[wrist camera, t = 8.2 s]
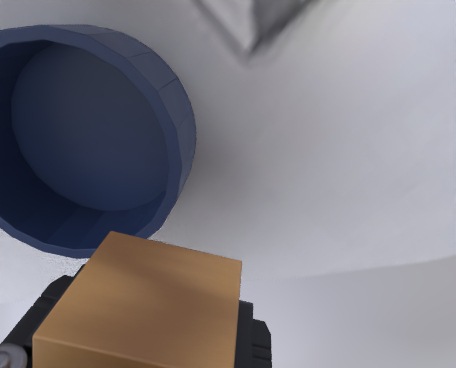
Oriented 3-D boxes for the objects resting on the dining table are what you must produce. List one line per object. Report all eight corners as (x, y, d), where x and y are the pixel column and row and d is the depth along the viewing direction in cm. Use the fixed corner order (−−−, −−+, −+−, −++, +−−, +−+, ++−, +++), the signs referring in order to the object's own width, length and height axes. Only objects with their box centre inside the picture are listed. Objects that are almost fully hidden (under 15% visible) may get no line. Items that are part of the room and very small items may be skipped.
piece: (100, 328, 14) (32, 457, 10) (109, 229, 12) (31, 335, 8) (215, 354, 14) (196, 494, 10) (242, 260, 12) (233, 381, 8)
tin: (9, 194, 32) (-47, 232, 26) (0, 3, 26) (-75, -3, 20) (180, 232, 33) (163, 278, 27) (213, 52, 26) (200, 61, 20)
